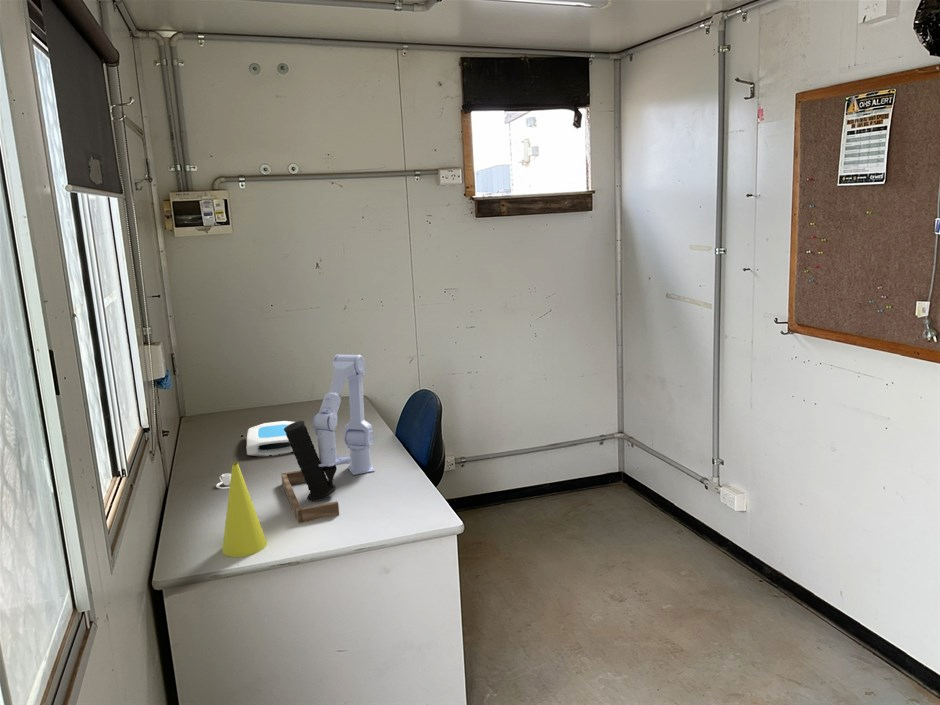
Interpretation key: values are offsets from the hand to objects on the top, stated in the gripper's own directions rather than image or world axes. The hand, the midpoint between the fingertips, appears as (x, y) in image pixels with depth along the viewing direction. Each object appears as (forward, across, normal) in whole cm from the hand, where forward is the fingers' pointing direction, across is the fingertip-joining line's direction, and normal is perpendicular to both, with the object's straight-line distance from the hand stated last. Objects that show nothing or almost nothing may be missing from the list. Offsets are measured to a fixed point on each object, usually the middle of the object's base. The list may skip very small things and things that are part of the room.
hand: (330, 487), depth 240 cm
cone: (+3, -30, -26) cm, 40 cm away
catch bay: (+3, -7, 0) cm, 8 cm away
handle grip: (+2, -3, 0) cm, 4 cm away
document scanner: (+3, -10, +66) cm, 67 cm away
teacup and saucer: (+3, -31, +25) cm, 40 cm away
